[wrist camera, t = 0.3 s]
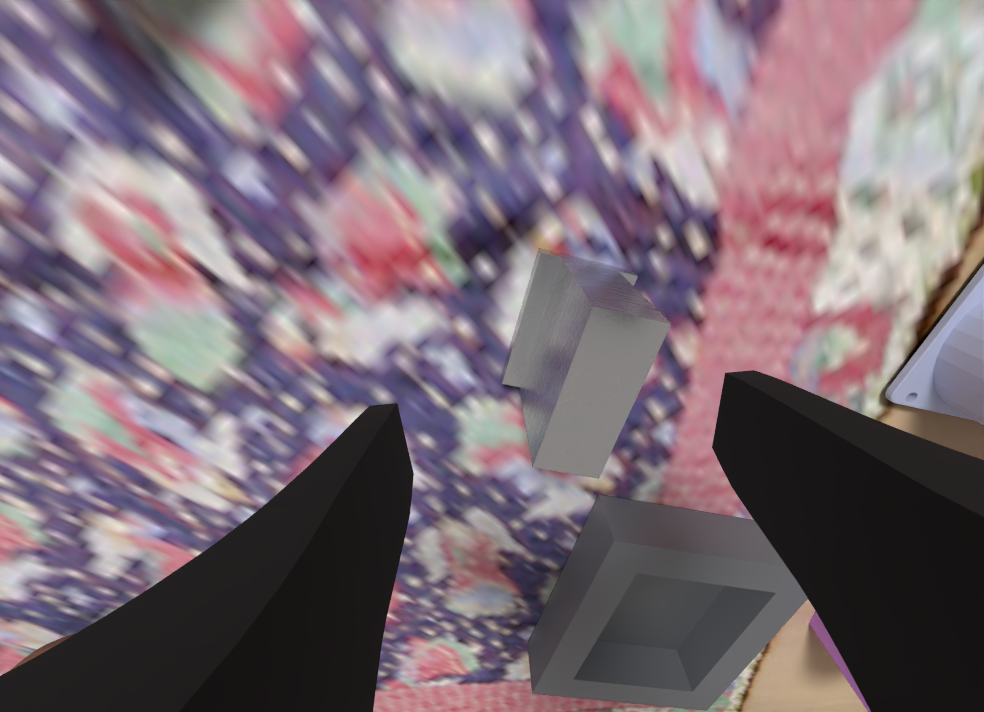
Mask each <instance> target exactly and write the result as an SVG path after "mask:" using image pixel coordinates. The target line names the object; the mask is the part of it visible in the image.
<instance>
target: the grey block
mask: <svg viewBox="0 0 984 712" xmlns="http://www.w3.org/2000/svg"><path fill="white" fill-rule="evenodd" d="M637 277H638V276H637V275H636V274H635V273H634V272H633V271H631V270H627V269H623V268H619V267H615V266H611V265H607V264H603V263H599V262H595V261H590V260H586V259H582V258H578V257H574V256H570V255H566V254H562V253H558V252H554V251H549V250H545V249H541V248H539V249H538V252H537V256H536V259H535V262H534V266H533V269H532V272H531V276H530V279H529V283H528V286H527V289H526V293H525V296H524V300H523V303H522V306H521V310H520V313H519V317H518V320H517V323H516V327H515V330H514V333H513V337H512V340H511V344H510V347H509V350H508V354H507V357H506V361H505V364H504V367H503V371H502V374H501V378H502V384H506V385H511V386H516V387H519V388H520V394H521V400H522V406H523V412H524V418H525V424H526V430H527V436H528V442H529V448H530V454H531V460H532V466H533V467H534V468H540V469H546V470H551V471H557V472H563V473H569V474H575V475H581V476H586V477H592V478H598V479H599V477H600V475H601V473H602V470H603V468H604V466H605V464H606V462H607V460H608V458H609V456H610V453H611V451H612V449H613V447H614V445H615V443H616V441H617V438H618V436H619V434H620V432H621V430H622V428H623V426H624V424H625V421H626V419H627V417H628V415H629V413H630V411H631V409H632V406H633V404H634V402H635V400H636V398H637V396H638V394H639V392H640V389H641V387H642V385H643V383H644V381H645V379H646V377H647V374H648V372H649V370H650V368H651V366H652V364H653V362H654V360H655V357H656V355H657V353H658V351H659V349H660V347H661V345H662V342H663V340H664V338H665V336H666V334H667V332H668V330H669V328H670V325H671V323H670V322H669V321H668V320H667V319H666V318H665V317H664V316H663V315H662V314H661V313H660V312H659V311H658V310H657V309H656V308H655V307H654V306H653V305H652V304H651V303H650V302H649V301H648V300H647V299H646V298H645V297H644V296H643V295H642V294H641V293H640V292H639V291H638V290H637V289H636V288H635V287H634V284H635V282H636V279H637Z"/></svg>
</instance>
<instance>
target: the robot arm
mask: <svg viewBox="0 0 984 712" xmlns="http://www.w3.org/2000/svg"><path fill="white" fill-rule="evenodd" d="M885 396H886V398H887V399H888V400H890V401H891V402H893V403H896V404H900V405H905V406H909V407H914V408H918V409H923V410H928V411H932V412H937V413H941V414H946V415H951V416H955V417H960V418H964V419H969V420H973V421H977V422H978V423H980V424H982V425H983V426H984V264H983V265H982V267H981V268H980V269H979V270H978V272H977V273H976V274H975V276H974V277H973V278H972V280H971V281H970V282H969V283H968V285H967V286H966V287H965V289H964V290H963V291H962V293H961V294H960V295H959V296H958V298H957V299H956V300H955V302H954V303H953V304H952V306H951V307H950V308H949V309H948V311H947V312H946V313H945V315H944V316H943V317H942V319H941V320H940V321H939V322H938V324H937V325H936V326H935V328H934V329H933V330H932V332H931V333H930V334H929V335H928V337H927V338H926V339H925V341H924V342H923V343H922V345H921V346H920V347H919V348H918V350H917V351H916V352H915V354H914V355H913V356H912V358H911V359H910V360H909V361H908V363H907V364H906V365H905V367H904V368H903V369H902V371H901V372H900V373H899V374H898V376H897V377H896V378H895V380H894V381H893V382H892V384H891V385H890V386H889V387H888V389H887V391H886V393H885ZM712 448H713V450H714V452H715V454H716V456H717V458H718V460H719V463H720V465H721V467H722V469H723V471H724V473H725V475H726V476H727V478H728V480H729V482H730V484H731V486H732V488H733V489H734V491H735V492H736V494H737V495H738V497H739V498H740V500H741V501H742V503H743V504H744V506H745V507H746V509H747V510H748V512H749V513H750V514H751V516H752V517H753V519H754V520H755V522H756V523H757V525H758V526H759V527H760V529H761V530H762V532H763V533H764V535H765V536H766V538H767V539H768V540H769V542H770V543H771V545H772V546H773V548H774V549H775V550H776V552H777V553H778V555H779V556H780V558H781V559H782V561H783V562H784V563H785V565H786V566H787V568H788V569H789V571H790V572H791V573H792V575H793V576H794V578H795V579H796V581H797V582H798V584H799V585H800V587H801V588H802V590H803V591H804V593H805V595H806V596H807V598H808V599H809V601H810V602H811V604H812V605H813V607H814V609H815V610H816V612H817V614H818V616H819V618H820V619H821V621H822V623H823V625H824V626H825V628H826V630H827V632H828V634H829V635H830V637H831V639H832V641H833V642H834V644H835V646H836V648H837V649H838V651H839V653H840V655H841V657H842V658H843V660H844V662H845V664H846V666H847V668H848V669H849V671H850V673H851V675H852V677H853V679H854V681H855V683H856V684H857V686H858V688H859V690H860V692H861V694H862V696H863V698H864V700H865V701H866V703H867V705H868V707H869V709H870V711H871V712H984V460H981V459H978V458H975V457H972V456H969V455H966V454H964V453H961V452H958V451H955V450H952V449H949V448H947V447H944V446H941V445H939V444H936V443H933V442H931V441H928V440H925V439H923V438H920V437H918V436H915V435H912V434H910V433H907V432H904V431H902V430H899V429H897V428H894V427H892V426H889V425H887V424H884V423H882V422H879V421H877V420H874V419H872V418H870V417H867V416H865V415H862V414H860V413H858V412H855V411H853V410H850V409H848V408H846V407H843V406H841V405H839V404H836V403H834V402H832V401H829V400H827V399H825V398H822V397H820V396H818V395H815V394H813V393H811V392H808V391H806V390H804V389H801V388H799V387H796V386H794V385H792V384H789V383H787V382H784V381H782V380H779V379H777V378H774V377H772V376H769V375H766V374H763V373H760V372H757V371H754V370H753V371H742V372H731V373H725V378H724V383H723V389H722V395H721V400H720V406H719V412H718V417H717V423H716V429H715V434H714V440H713V446H712ZM413 475H414V474H413V469H412V465H411V461H410V456H409V452H408V448H407V443H406V439H405V435H404V431H403V426H402V422H401V418H400V413H399V409H398V405H397V403H395V404H384V405H374V406H369V407H368V408H367V409H366V410H365V411H364V412H363V413H362V414H361V415H360V416H359V417H358V418H357V419H356V420H355V421H354V422H353V423H352V424H351V425H350V426H349V427H348V428H347V429H346V430H345V431H344V432H343V433H342V434H341V435H340V436H339V437H338V438H337V439H336V440H335V441H334V442H333V443H332V444H331V445H330V446H329V447H328V448H327V449H326V450H325V451H324V452H323V453H322V454H321V455H320V456H319V457H318V458H317V459H315V460H314V461H313V462H312V463H311V464H310V465H309V466H308V467H307V468H306V469H305V470H304V471H303V472H301V473H300V474H299V475H298V476H297V477H296V478H295V479H294V480H293V481H291V482H290V483H289V484H288V485H287V486H286V487H285V488H284V489H283V490H281V491H280V492H279V493H278V494H277V495H276V496H275V497H274V498H273V499H271V500H270V501H269V502H268V503H267V504H265V505H264V506H263V507H262V508H261V509H259V510H258V511H257V512H256V513H254V514H253V515H252V516H251V517H249V518H248V519H247V520H246V521H244V522H243V523H242V524H240V525H239V526H238V527H237V528H235V529H234V530H233V531H231V532H230V533H229V534H227V535H226V536H225V537H223V538H222V539H221V540H219V541H218V542H217V543H215V544H214V545H213V546H211V547H210V548H209V549H207V550H206V551H204V552H203V553H201V554H200V555H198V556H197V557H195V558H194V559H192V560H191V561H189V562H188V563H186V564H185V565H184V566H182V567H181V568H179V569H178V570H176V571H175V572H173V573H172V574H170V575H169V576H167V577H166V578H164V579H163V580H162V581H160V582H159V583H157V584H156V585H154V586H153V587H151V588H150V589H148V590H147V591H145V592H143V593H142V594H140V595H139V596H137V597H136V598H134V599H132V600H131V601H129V602H128V603H126V604H124V605H123V606H121V607H119V608H118V609H116V610H115V611H113V612H111V613H110V614H108V615H107V616H105V617H103V618H102V619H100V620H98V621H97V622H95V623H93V624H91V625H90V626H88V627H86V628H85V629H83V630H81V631H80V632H78V633H76V634H75V635H73V636H71V637H69V638H68V639H66V640H64V641H63V642H61V643H59V644H57V645H56V646H54V647H52V648H50V649H49V650H47V651H45V652H43V653H42V654H40V655H38V656H36V657H35V658H33V659H31V660H29V661H27V662H25V663H23V664H22V665H20V666H18V667H16V668H14V669H12V670H10V671H9V672H7V673H5V674H3V675H1V676H0V712H373V706H374V698H375V690H376V682H377V675H378V667H379V660H380V652H381V645H382V639H383V633H384V628H385V623H386V617H387V613H388V608H389V604H390V600H391V595H392V591H393V587H394V582H395V578H396V574H397V569H398V565H399V561H400V556H401V552H402V547H403V543H404V538H405V534H406V530H407V525H408V520H409V516H410V507H411V497H412V486H413Z"/></svg>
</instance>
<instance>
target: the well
mask: <svg viewBox="0 0 984 712" xmlns="http://www.w3.org/2000/svg"><path fill="white" fill-rule="evenodd" d="M807 599H808V598H807V596H806V595H805V593H804V591H803V590H802V588H801V587H800V585H799V584H798V582H797V581H796V579H795V578H794V576H793V575H792V573H791V572H790V571H789V569H788V568H787V566H786V565H785V563H784V562H783V561H782V559H781V558H780V556H779V555H778V553H777V552H776V550H775V549H774V548H773V546H772V545H771V543H770V542H769V540H768V539H767V538H766V536H765V535H764V533H763V532H762V530H761V529H760V527H759V526H758V525H757V523H756V522H755V520H750V519H744V518H738V517H732V516H726V515H720V514H714V513H707V512H701V511H695V510H689V509H683V508H677V507H671V506H665V505H659V504H653V503H647V502H641V501H635V500H629V499H623V498H617V497H611V496H605V495H598V497H597V499H596V502H595V504H594V506H593V508H592V510H591V512H590V514H589V516H588V518H587V520H586V522H585V524H584V527H583V529H582V531H581V533H580V535H579V537H578V539H577V541H576V543H575V545H574V547H573V549H572V552H571V554H570V556H569V558H568V560H567V562H566V564H565V566H564V568H563V570H562V572H561V574H560V577H559V579H558V581H557V583H556V585H555V587H554V589H553V591H552V593H551V595H550V597H549V599H548V602H547V604H546V606H545V608H544V610H543V612H542V614H541V616H540V618H539V620H538V622H537V624H536V627H535V629H534V631H533V633H532V635H531V637H530V639H529V641H528V643H527V644H528V654H529V664H530V674H531V685H532V694H541V695H551V696H561V697H572V698H582V699H592V700H603V701H613V702H623V703H634V704H644V705H654V706H665V707H675V708H685V709H695V710H706V711H707V710H708V709H709V708H710V707H711V705H712V704H713V703H714V702H715V701H716V700H717V699H718V698H719V697H720V696H721V694H722V693H723V692H724V691H725V690H726V689H727V688H728V687H729V686H730V684H731V683H732V682H733V681H734V680H735V679H736V678H737V677H738V676H739V674H740V673H741V672H742V671H743V670H744V669H745V668H746V667H747V666H748V664H749V663H750V662H751V661H752V660H753V659H754V658H755V657H756V656H757V655H758V653H759V652H760V651H761V650H762V649H763V648H764V647H765V646H766V645H767V643H768V642H769V641H770V640H771V639H772V638H773V637H774V636H775V635H776V633H777V632H778V631H779V630H780V629H781V628H782V627H783V626H784V625H785V623H786V622H787V621H788V620H789V619H790V618H791V617H792V616H793V615H794V614H795V612H796V611H797V610H798V609H799V608H800V607H801V606H802V605H803V604H804V602H805V601H806V600H807Z"/></svg>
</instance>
